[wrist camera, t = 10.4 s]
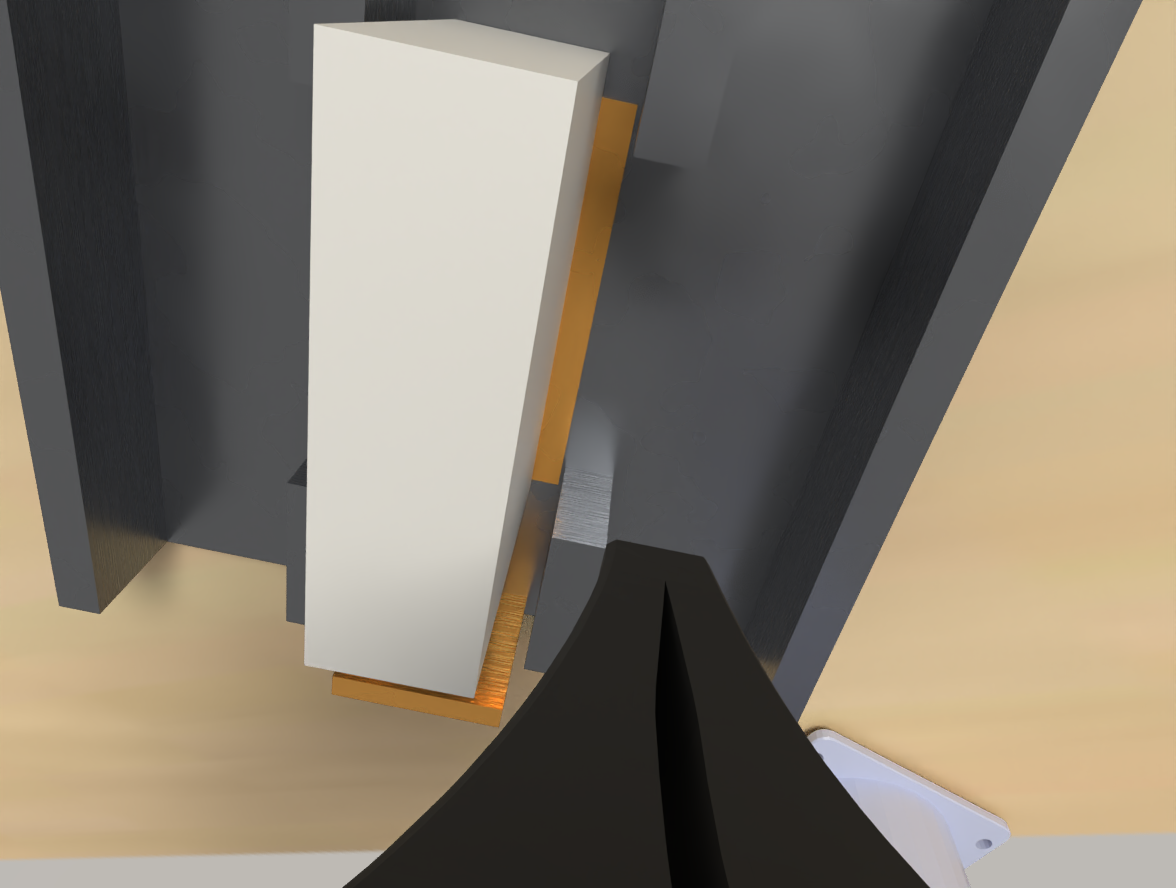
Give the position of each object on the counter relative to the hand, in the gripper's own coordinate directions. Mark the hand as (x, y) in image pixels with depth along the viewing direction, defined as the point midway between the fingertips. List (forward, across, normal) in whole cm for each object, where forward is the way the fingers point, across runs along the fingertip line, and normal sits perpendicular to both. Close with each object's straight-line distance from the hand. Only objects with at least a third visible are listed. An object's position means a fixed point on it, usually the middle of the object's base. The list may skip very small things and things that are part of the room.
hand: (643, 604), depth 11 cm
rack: (+9, +4, -1) cm, 10 cm away
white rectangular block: (+8, +4, -1) cm, 9 cm away
